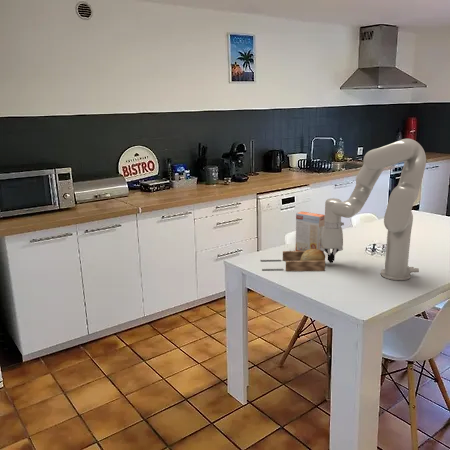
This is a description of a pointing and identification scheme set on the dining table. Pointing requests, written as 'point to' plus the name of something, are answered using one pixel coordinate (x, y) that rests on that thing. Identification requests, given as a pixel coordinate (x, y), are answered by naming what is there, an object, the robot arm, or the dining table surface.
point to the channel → (301, 262)
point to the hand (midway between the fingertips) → (330, 261)
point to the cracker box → (308, 230)
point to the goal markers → (271, 269)
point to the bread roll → (313, 255)
